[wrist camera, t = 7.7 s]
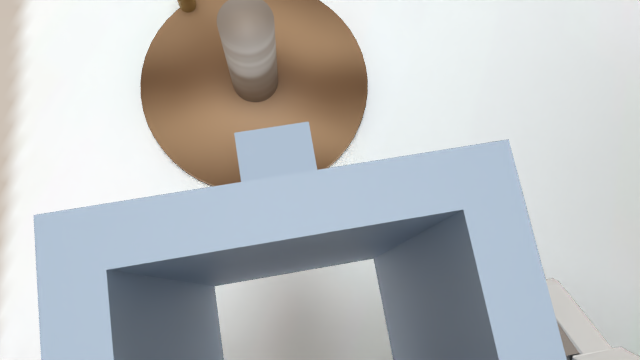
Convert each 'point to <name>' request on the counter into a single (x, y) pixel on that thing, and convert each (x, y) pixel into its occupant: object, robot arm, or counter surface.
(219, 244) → the open square bin
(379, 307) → the counter surface
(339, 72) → the post plate
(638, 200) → the counter surface
